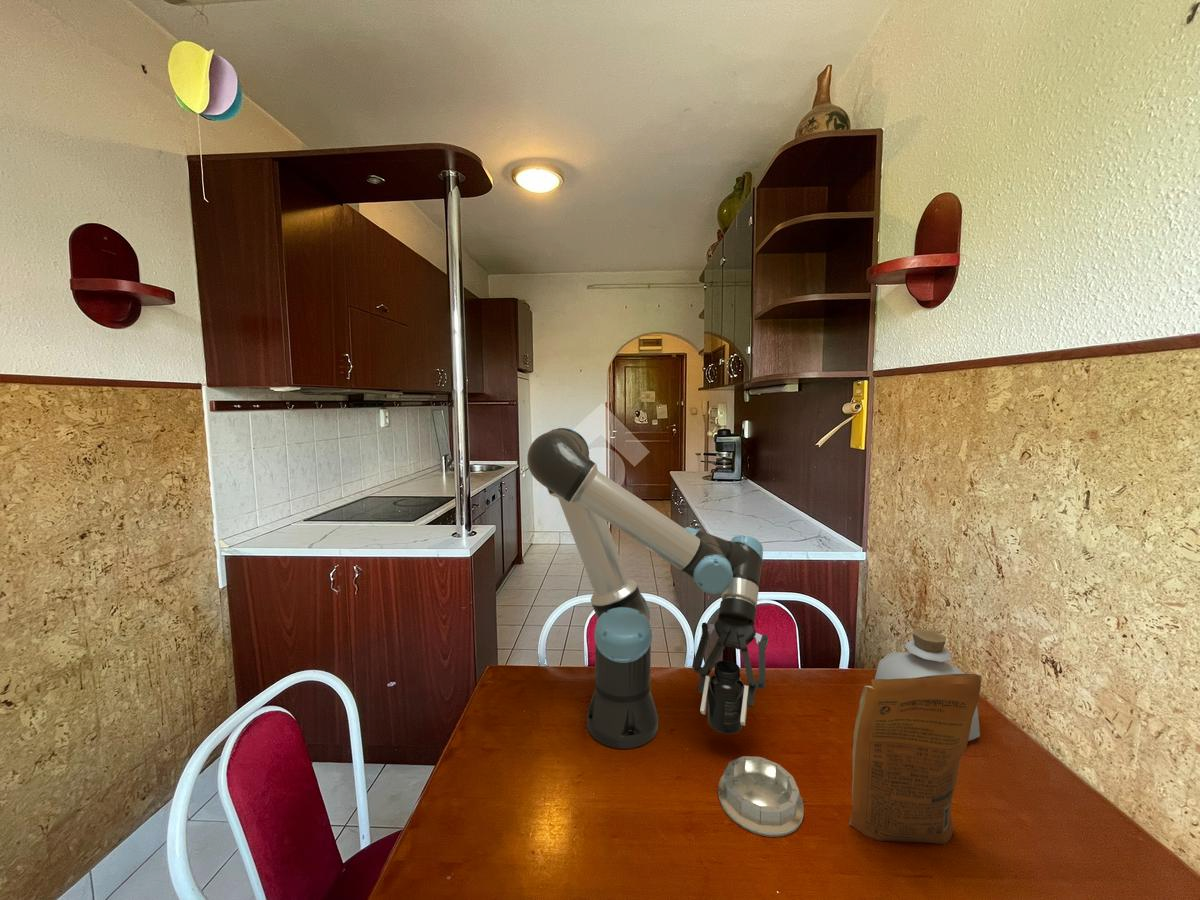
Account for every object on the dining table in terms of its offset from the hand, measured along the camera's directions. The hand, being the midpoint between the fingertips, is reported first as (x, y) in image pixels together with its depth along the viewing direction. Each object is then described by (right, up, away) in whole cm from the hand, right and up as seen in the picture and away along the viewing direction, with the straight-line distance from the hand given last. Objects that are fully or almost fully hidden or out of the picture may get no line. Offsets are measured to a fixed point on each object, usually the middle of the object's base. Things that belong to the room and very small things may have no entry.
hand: (722, 717), depth 93 cm
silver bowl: (+4, -10, -9) cm, 14 cm away
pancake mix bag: (+25, -11, -15) cm, 31 cm away
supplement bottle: (+1, -3, +4) cm, 5 cm away
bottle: (+47, -7, +13) cm, 50 cm away
